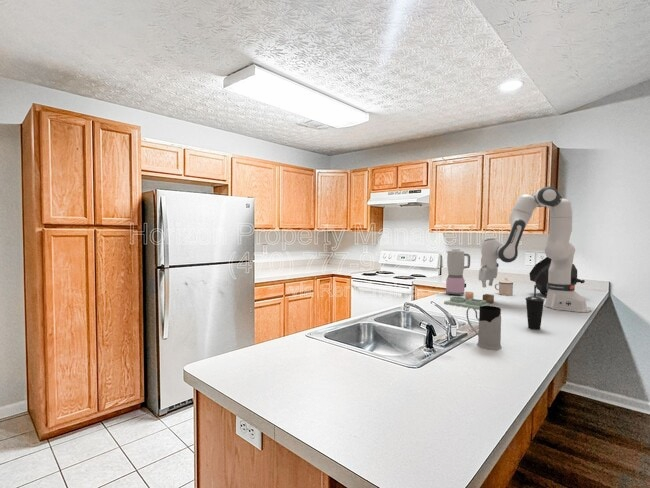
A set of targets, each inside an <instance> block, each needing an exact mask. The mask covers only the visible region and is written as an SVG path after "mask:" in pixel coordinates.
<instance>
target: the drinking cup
mask: <svg viewBox="0 0 650 488" xmlns="http://www.w3.org/2000/svg"><path fill="white" fill-rule="evenodd" d="M533 287H534V288H533V289H534V290H533V291H534V292H533V295H530V296H528V297H525V301H526V302H525V304H526V315H527V316H526V318H527V328H528V329H529V330H537V331H539V330H541V328H542V327H541V325H542V318H543V311H544V305H545V302H546V299H545V298H543V297H540V296H537V288H536V284H534V285H533Z"/></svg>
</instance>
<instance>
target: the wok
mask: <svg viewBox="0 0 650 488" xmlns="http://www.w3.org/2000/svg"><path fill="white" fill-rule="evenodd" d="M551 260H552V259H550V258H548V257H547V256H546V257H545V258H543V259H542V260H540V261H539V262H537V263H536V264H535V265H534V267H533V268H532V269H531V271H530V272H529V273H528V274H529V280H530V281H531V282H534V283H535V284H534V285H536V290H539V293H540V294H542V295H547V283H548V273H549V267H550V264H551ZM585 281H586V280H585V279H580V278H578V269H577V268H576V265H575V264H574V263H572V268H571V284H572V285H573V286H575V287H576V285H577V283H580V284H584V283H585Z"/></svg>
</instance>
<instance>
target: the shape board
mask: <svg viewBox="0 0 650 488" xmlns="http://www.w3.org/2000/svg"><path fill="white" fill-rule="evenodd" d="M443 304H444V305H448V304H449V306H454V305H456V307H460V306H462V307H463V308H467V307H468V308H470V309H472V308H475V309H476V310H479V309H480V306H491V304H489V303H486V301H485V300H483V299H479V298H473V299H469V300H466V298H465V296H464V297H463V296H451V297H449V299H448V300H444V302H443ZM471 307H472V308H471ZM468 308H467V309H468Z"/></svg>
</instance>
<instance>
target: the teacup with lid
mask: <svg viewBox="0 0 650 488" xmlns="http://www.w3.org/2000/svg"><path fill="white" fill-rule="evenodd" d="M497 286H498V288H497ZM513 286H514V282H513V281H512V280H510V279H508V277H506V278H505V277H504V279H502V280H499V281H498V283H495V285H494V289H495V290H496V291H498V294H499V295H500V296H504V297H505V296H506V297H508V296H509V297H511V296H513V293H514V289H513V288H514V287H513Z"/></svg>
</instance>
